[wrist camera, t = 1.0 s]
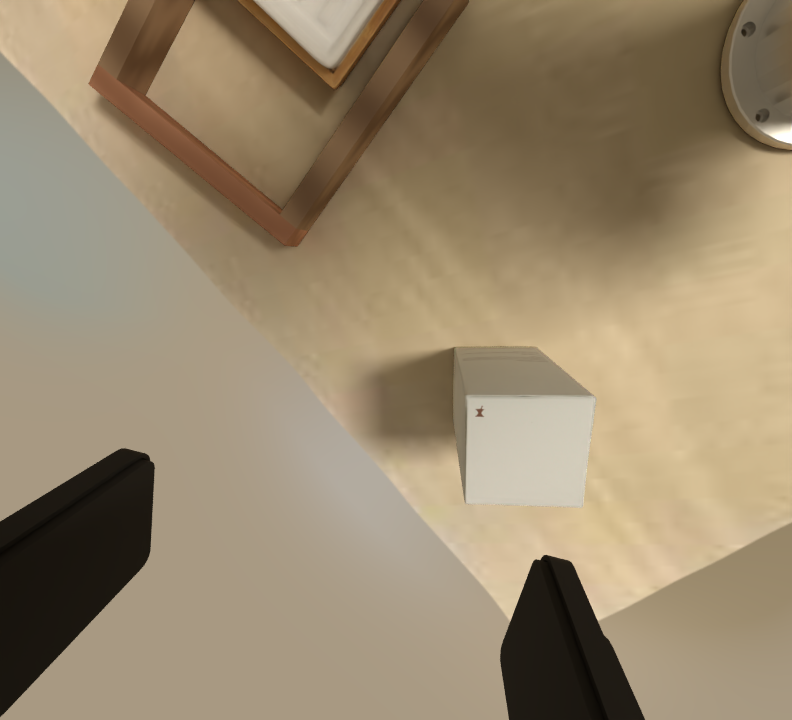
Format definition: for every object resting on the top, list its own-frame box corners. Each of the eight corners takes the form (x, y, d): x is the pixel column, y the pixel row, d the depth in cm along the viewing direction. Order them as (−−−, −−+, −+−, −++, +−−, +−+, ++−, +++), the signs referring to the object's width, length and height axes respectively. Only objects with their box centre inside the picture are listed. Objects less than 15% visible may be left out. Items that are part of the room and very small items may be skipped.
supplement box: (451, 423, 37) (459, 506, 24) (453, 344, 35) (463, 392, 23) (534, 425, 36) (585, 512, 24) (540, 345, 34) (599, 394, 22)
